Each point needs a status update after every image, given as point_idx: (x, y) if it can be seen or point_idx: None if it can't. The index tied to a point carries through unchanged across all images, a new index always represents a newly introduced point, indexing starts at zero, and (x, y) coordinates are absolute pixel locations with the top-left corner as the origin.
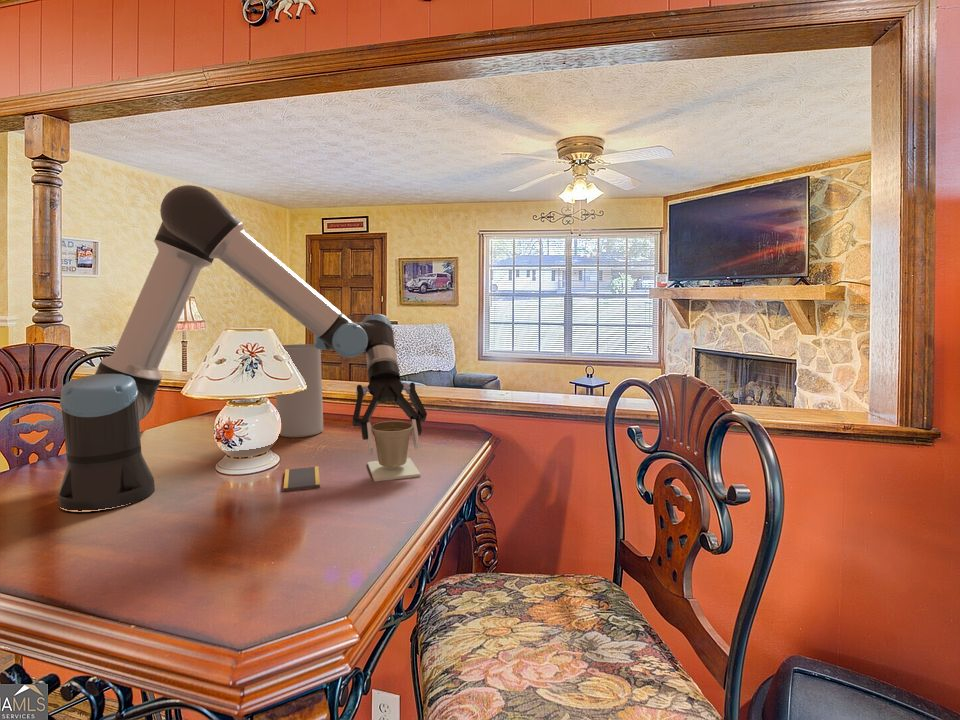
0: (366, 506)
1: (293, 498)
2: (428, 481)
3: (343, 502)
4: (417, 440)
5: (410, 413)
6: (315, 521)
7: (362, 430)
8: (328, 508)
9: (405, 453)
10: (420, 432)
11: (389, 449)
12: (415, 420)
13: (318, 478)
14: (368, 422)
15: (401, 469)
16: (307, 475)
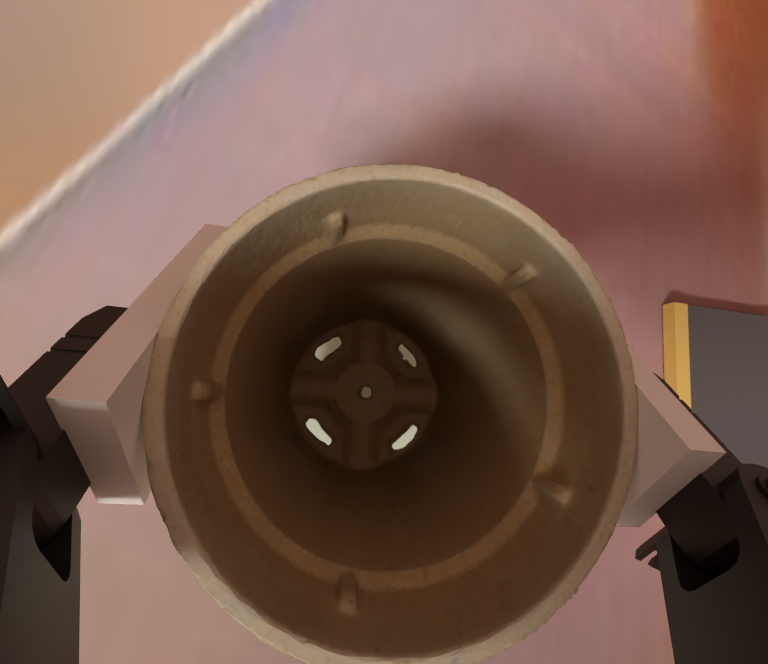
0: (533, 68)
1: (735, 242)
2: (253, 175)
3: (595, 134)
4: (209, 238)
5: (23, 573)
6: (672, 47)
7: (692, 413)
8: (639, 112)
9: (306, 320)
10: (117, 312)
11: (426, 289)
12: (66, 377)
13: (679, 370)
14: (709, 451)
15: (329, 342)
16: (716, 432)
